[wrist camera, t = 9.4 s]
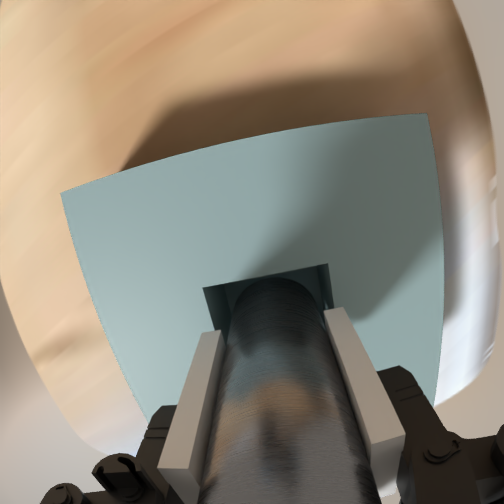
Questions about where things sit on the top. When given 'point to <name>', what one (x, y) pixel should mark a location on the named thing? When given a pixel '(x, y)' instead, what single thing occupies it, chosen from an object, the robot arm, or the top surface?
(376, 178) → the bore block
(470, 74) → the top surface
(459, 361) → the top surface
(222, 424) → the pin
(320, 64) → the top surface
